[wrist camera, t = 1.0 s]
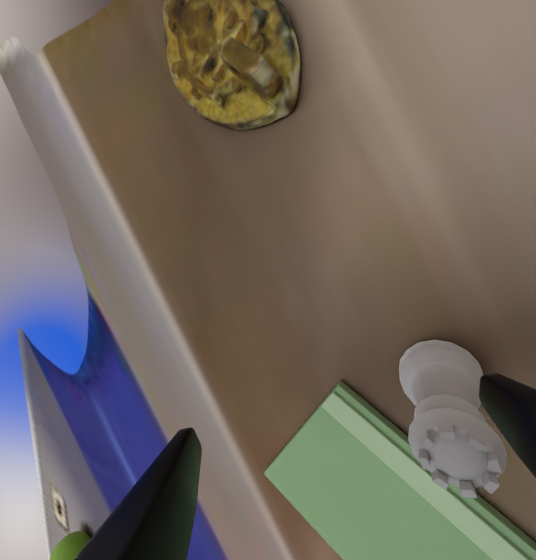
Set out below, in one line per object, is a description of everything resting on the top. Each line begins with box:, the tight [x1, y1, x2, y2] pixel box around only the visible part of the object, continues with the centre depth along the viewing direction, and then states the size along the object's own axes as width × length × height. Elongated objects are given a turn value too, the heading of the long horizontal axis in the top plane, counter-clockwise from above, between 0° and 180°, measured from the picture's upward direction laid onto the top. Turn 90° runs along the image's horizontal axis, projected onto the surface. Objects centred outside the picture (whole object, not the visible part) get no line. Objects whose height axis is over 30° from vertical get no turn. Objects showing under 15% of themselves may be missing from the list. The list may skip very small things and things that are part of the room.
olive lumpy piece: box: [163, 0, 301, 130], centre depth 19 cm, size 9×5×15 cm
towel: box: [264, 381, 536, 560], centre depth 19 cm, size 18×12×1 cm, turn 58°
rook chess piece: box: [399, 340, 508, 498], centre depth 13 cm, size 4×4×8 cm
